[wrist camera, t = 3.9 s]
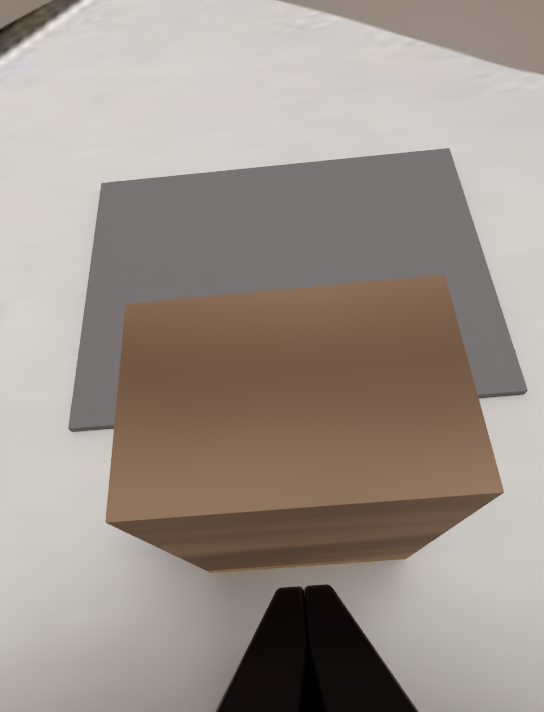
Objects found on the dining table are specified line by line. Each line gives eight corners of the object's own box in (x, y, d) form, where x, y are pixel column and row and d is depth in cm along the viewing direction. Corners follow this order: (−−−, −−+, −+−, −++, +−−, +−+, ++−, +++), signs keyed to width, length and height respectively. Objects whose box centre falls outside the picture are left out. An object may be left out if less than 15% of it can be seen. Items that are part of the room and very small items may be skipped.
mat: (529, 409, 17) (538, 400, 17) (69, 447, 18) (59, 440, 17) (447, 153, 23) (451, 138, 22) (104, 188, 24) (97, 174, 23)
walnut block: (406, 558, 15) (504, 492, 7) (211, 572, 16) (105, 522, 8) (384, 433, 17) (444, 274, 9) (210, 447, 18) (125, 303, 10)
